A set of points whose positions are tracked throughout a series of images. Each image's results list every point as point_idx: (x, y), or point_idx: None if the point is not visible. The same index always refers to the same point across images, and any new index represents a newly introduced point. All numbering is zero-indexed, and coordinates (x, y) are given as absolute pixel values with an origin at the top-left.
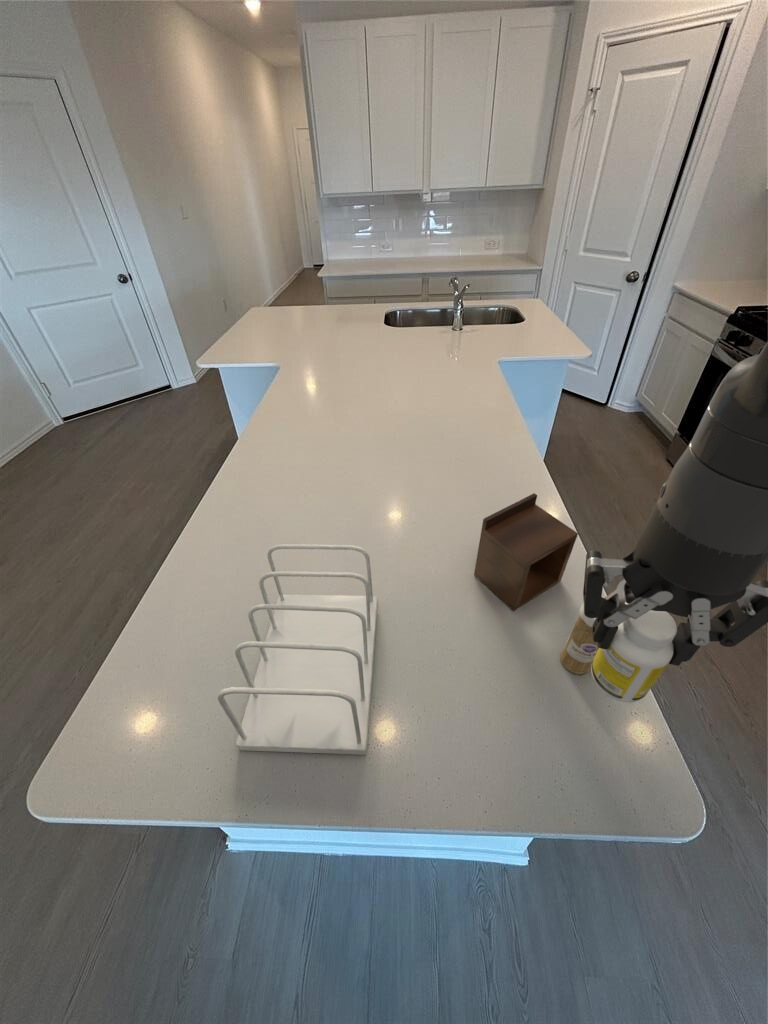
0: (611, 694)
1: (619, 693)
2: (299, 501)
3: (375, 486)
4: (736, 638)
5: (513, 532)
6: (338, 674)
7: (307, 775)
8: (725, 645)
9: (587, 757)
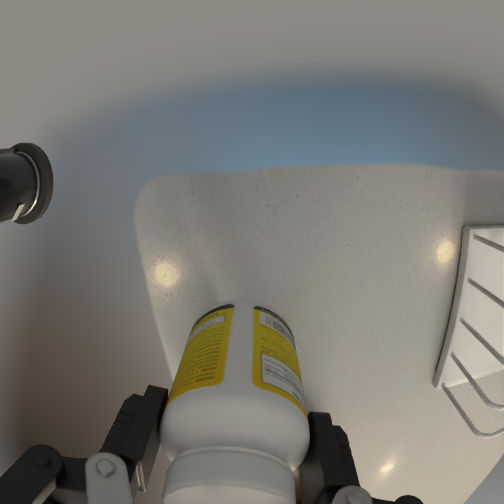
0: (271, 312)
1: (262, 315)
2: (465, 453)
3: (396, 485)
4: (25, 472)
5: (295, 490)
6: (484, 301)
7: (500, 206)
8: (50, 450)
9: (231, 242)
